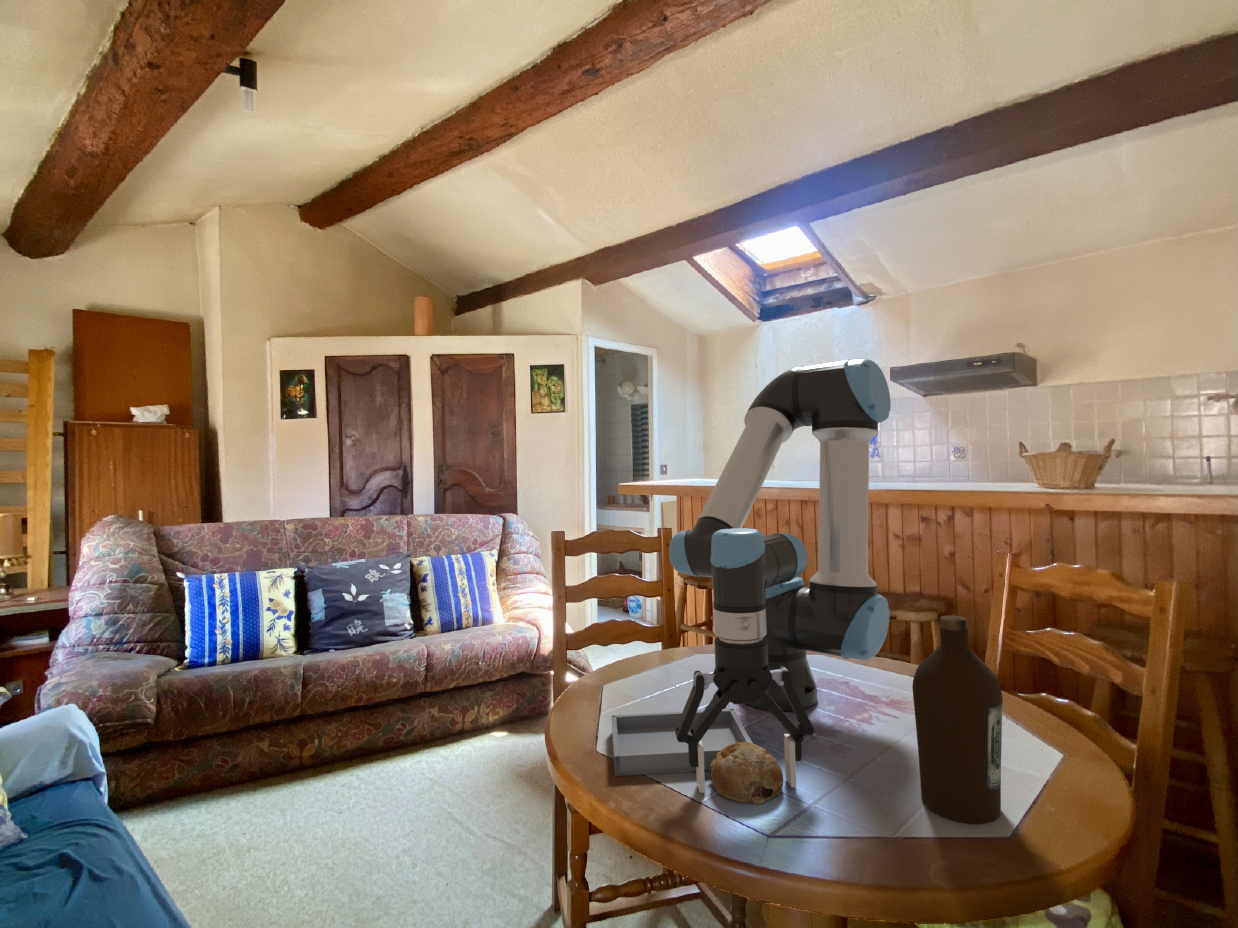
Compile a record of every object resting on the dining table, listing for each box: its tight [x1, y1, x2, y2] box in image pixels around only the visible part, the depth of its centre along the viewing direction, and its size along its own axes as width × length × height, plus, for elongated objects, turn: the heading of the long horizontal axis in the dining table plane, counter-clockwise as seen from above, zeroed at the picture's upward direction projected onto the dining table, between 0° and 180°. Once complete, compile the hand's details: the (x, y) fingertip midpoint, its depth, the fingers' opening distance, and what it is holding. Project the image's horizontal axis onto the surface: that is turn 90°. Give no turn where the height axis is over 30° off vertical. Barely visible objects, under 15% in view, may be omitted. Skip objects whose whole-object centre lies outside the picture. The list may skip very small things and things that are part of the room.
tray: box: [611, 708, 754, 777], centre depth 106 cm, size 22×16×3 cm
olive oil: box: [911, 615, 1004, 824], centre depth 86 cm, size 11×11×25 cm
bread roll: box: [710, 742, 784, 806], centre depth 93 cm, size 10×10×8 cm
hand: (746, 785), depth 93 cm, fingers open, 12 cm apart
